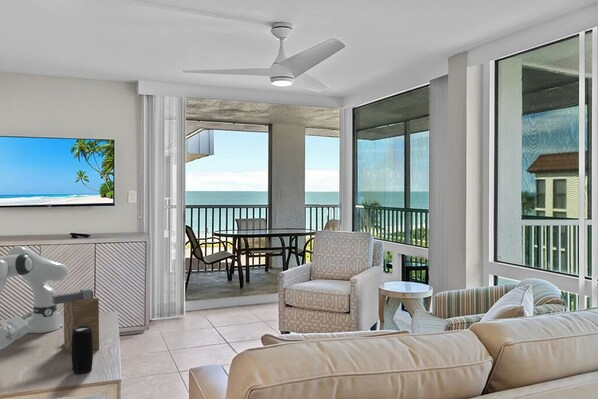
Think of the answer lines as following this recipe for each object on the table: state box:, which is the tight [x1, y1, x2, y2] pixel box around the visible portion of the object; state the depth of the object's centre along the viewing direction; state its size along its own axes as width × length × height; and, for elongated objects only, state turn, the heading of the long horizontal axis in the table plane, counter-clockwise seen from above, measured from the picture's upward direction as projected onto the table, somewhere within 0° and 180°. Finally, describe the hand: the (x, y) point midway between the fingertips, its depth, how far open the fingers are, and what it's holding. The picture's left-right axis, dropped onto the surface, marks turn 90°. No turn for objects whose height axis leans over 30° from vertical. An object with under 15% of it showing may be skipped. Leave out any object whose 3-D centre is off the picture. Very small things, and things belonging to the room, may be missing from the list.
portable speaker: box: [71, 325, 94, 375], centre depth 207 cm, size 9×9×20 cm
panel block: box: [63, 295, 100, 354], centre depth 236 cm, size 15×12×26 cm
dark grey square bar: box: [52, 288, 94, 305], centre depth 229 cm, size 5×18×5 cm, turn 134°
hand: (34, 315), depth 217 cm, fingers open, 8 cm apart
